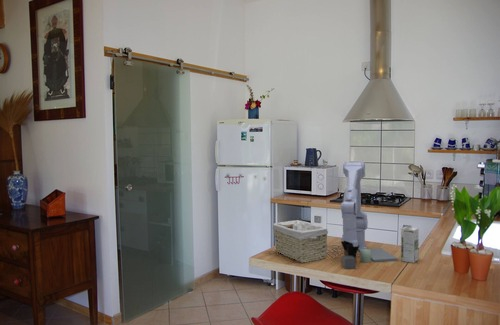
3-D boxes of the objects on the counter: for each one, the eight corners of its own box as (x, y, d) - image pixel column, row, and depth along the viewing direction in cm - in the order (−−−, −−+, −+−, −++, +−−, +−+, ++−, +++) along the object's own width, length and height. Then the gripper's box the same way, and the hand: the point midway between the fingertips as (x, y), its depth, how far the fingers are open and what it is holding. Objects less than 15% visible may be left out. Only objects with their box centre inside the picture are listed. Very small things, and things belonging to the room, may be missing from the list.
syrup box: (405, 258, 177) (404, 226, 177) (419, 260, 174) (418, 227, 173) (401, 261, 173) (400, 228, 173) (415, 263, 169) (414, 229, 169)
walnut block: (344, 261, 176) (344, 249, 175) (353, 260, 176) (352, 249, 176) (347, 263, 172) (347, 252, 172) (356, 263, 172) (356, 251, 172)
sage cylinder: (359, 260, 177) (358, 249, 176) (368, 259, 177) (368, 248, 177) (362, 263, 172) (362, 251, 172) (372, 262, 173) (372, 251, 172)
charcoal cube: (342, 266, 169) (342, 255, 169) (352, 265, 169) (352, 255, 169) (344, 269, 164) (344, 258, 164) (355, 268, 164) (355, 258, 164)
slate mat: (358, 251, 191) (358, 249, 191) (380, 250, 192) (380, 248, 192) (374, 262, 173) (374, 259, 173) (398, 260, 174) (398, 258, 174)
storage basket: (330, 259, 180) (329, 227, 179) (301, 265, 172) (300, 231, 172) (299, 248, 201) (298, 219, 200) (272, 253, 193) (271, 223, 193)
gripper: (335, 225, 180) (336, 255, 181) (346, 232, 166) (347, 264, 166) (350, 224, 181) (351, 254, 181) (362, 231, 166) (363, 263, 167)
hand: (350, 258), depth 174 cm, fingers closed on walnut block, 4 cm apart
